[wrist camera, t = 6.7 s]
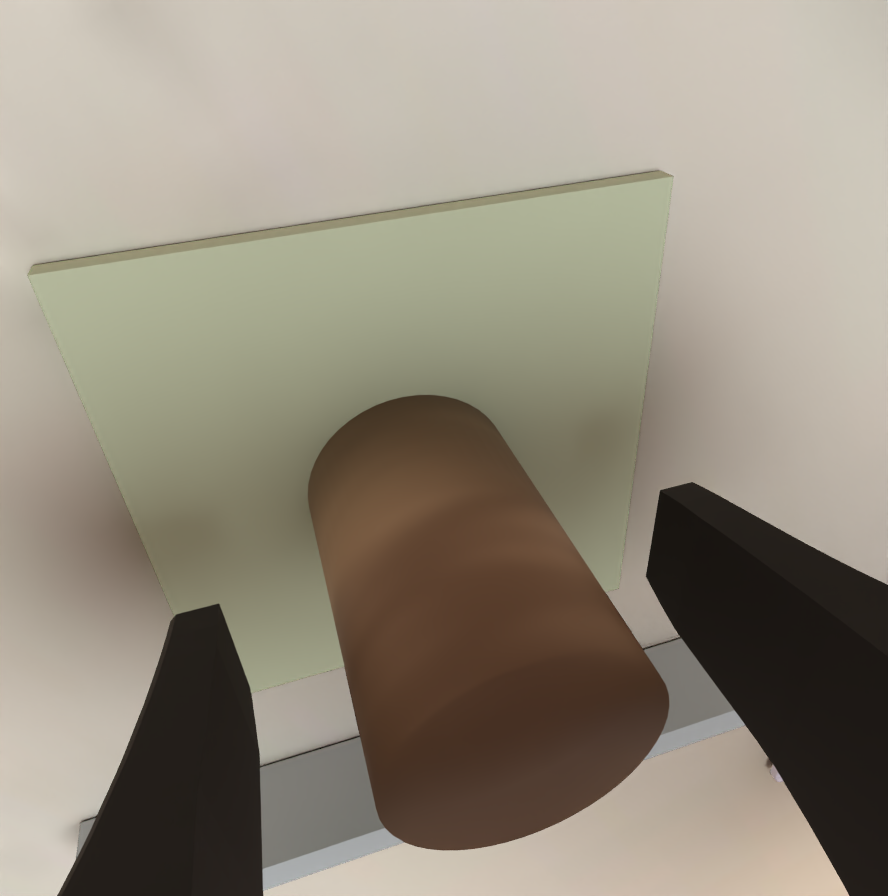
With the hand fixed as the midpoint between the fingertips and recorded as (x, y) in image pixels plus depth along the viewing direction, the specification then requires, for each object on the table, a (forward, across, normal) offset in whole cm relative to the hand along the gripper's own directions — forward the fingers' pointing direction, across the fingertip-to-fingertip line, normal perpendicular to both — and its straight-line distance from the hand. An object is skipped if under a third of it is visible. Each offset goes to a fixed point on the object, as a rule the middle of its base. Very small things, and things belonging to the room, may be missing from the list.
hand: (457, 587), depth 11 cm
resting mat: (+3, 0, 0) cm, 3 cm away
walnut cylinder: (+3, 0, 0) cm, 3 cm away
